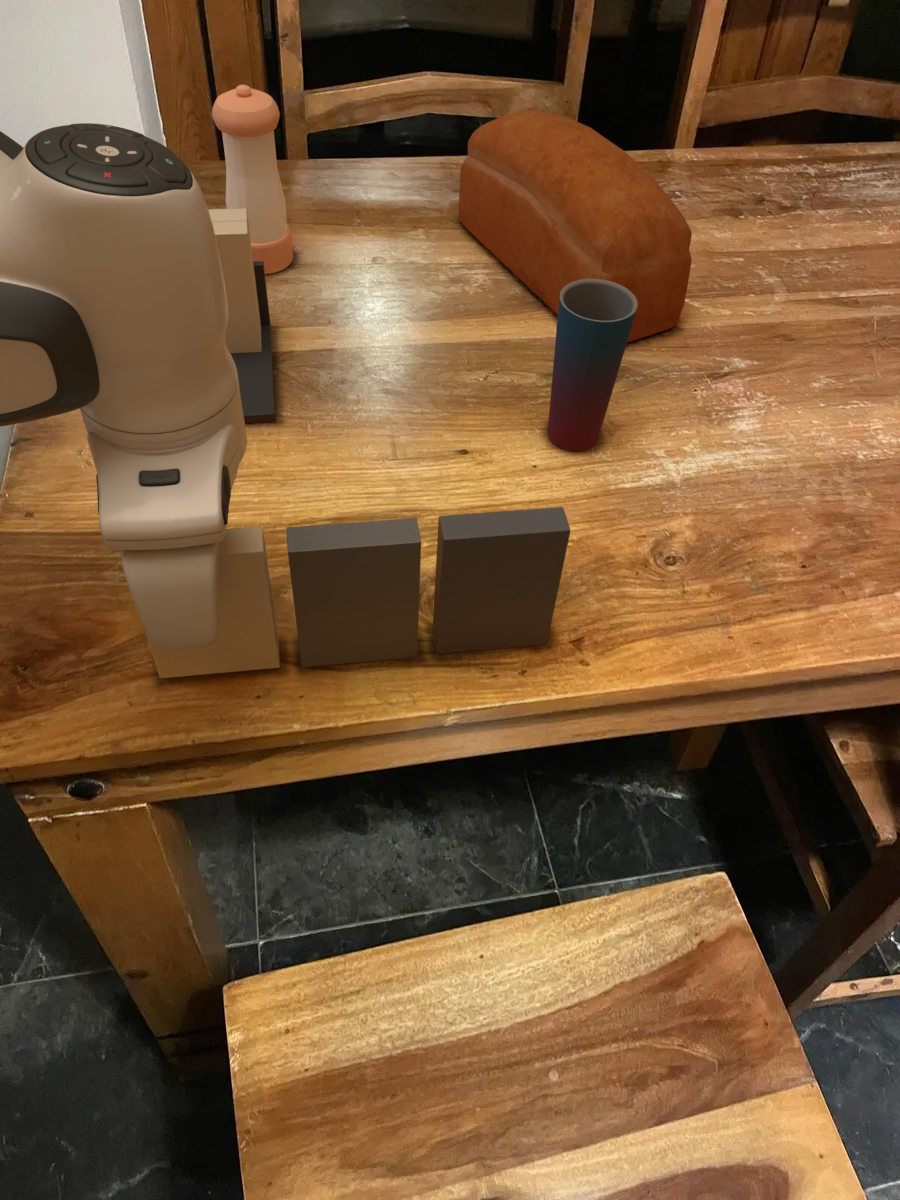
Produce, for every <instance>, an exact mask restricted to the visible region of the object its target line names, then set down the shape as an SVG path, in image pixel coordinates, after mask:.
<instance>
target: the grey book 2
mask: <svg viewBox="0 0 900 1200" xmlns="http://www.w3.org/2000/svg"><path fill="white" fill-rule="evenodd" d="M437 520H438V521H437V522H438V523H437V539H436V540H437V541H436V559H435V575H434V577H435V578H434V595H433V596H434V597H433V612H432V613H433V615H432V631H431V632H432V637H433V644H434V648H435V649H434V650H435V653H436V655H444V654H457V653H466V652H477V651H488V650H489V651H490V650H498V649H499V650H500V649H508V648H509V649H510V648H522V647H531V646H532V647H533V646H541V645H543V646H544V645H547V644H548V641H549V636H550V631H551V627H552V621H553V618H554V613H555V607H556V603H557V598H558V594H559V589H560V583H561V578H562V574H563V568H564V564H565V559H566V554H567V549H568V545H569V540H570V536H571V527H570V525H569V520H568V518H567V515H566V512H565V509H564V507H563V506H558V507H557V506H555V507H545V508H544V507H543V508H530V509H528V508H527V509H517V510H515V509H514V510H502V511H501V510H500V511H490V512H474V513H473V512H472V513H461V514H447V515H446V514H445V515H439V516H438V519H437Z"/></svg>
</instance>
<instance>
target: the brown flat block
mask: <svg viewBox="0 0 900 1200" xmlns="http://www.w3.org/2000/svg"><path fill="white" fill-rule="evenodd" d="M268 563H269V562H268V556H267V550H266V542H265V535H264V528H263V526H251V527H235V528H226V537H225V539H224V540H223V541H222V542H219V553H218V611H219V630H218V637H217V640H216V641H215V642H214V643H213V644H211V645H208V646H203V647H198V648H190V649H162V648H159V647H157V646H155V645H154V644H153V643H152V642H151V640H150V638H149V636H148V634H147V632H146V630H145V627H144V625H143V624H142V626H143V629H144V632H145V636H146V639H147V642H148V645H149V648H150V652H151V655H152V658H153V662H154V664H155V668H156V671H157V674H158V678H159V679H167V678H179V677H191V676H203V675H213V674H225V673H236V672H247V671H258V670H271V669H280V667H281V661H280V643H279V642H280V641H279V636H278V628H277V621H276V615H275V614H276V613H275V606H274V599H273V591H272V585H271V578H270V571H269V570H270V569H269V564H268Z"/></svg>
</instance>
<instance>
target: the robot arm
mask: <svg viewBox="0 0 900 1200" xmlns="http://www.w3.org/2000/svg"><path fill="white" fill-rule="evenodd" d="M208 209H209V207H208V205H207V202H206V199H205V197H204V194H203V191H202V189H201V187H200V184H199V182H198V181H197V179H196V178H195V176H194V174H193V173H192V171H191V169H190V167H189V166H188V165H187V164H186V163H185V161H184V160H182V159H181V157H180V156H179V155H177V153H175V152H174V151H173V150H171V149H170V148H169V147H167V146H165V144H162V143H160V142H158V141H157V140H154V139H152V138H150V137H148V136H145V135H144V134H143V133H140V132H138V131H135V130H132V129H129V128H124V127H120V126H116V125H109V124H103V123H91V122H90V123H89V122H86V123H84V122H83V123H82V122H81V123H80V122H79V123H71V124H66V125H65V124H64V125H59V126H54V127H53V126H52V127H49V128H47V129H44V130H41V131H39V132H37V133H36V134H34V135H33V136H31V137H30V138H29V139H28V140H27V141H26V143H25V145H24V146H22V145H21V144H20V143H18V142H17V141H16V140H14V139H13V138H11V137H10V136H8V134H6V133H4V132H2V131H1V130H0V427H1V428H2V427H7V426H12V425H17V424H23V423H28V422H32V421H38V420H42V419H47V418H51V417H57V416H59V415H63V414H67V413H70V412H73V411H77V410H78V409H79V410H80V414H81V417H82V420H83V423H84V427H85V429H86V433H87V437H86V439H87V444H88V448H89V450H90V451H89V452H90V454H91V457H92V460H93V464H94V467H95V469H96V474H95V479H96V490H97V491H96V492H97V493H96V494H97V513H98V525H99V531H100V534H101V538H102V540H103V543H104V545H105V547H106V548H107V549H108V550H110V551H120V559H121V565H122V569H123V573H124V578H125V580H126V583H127V586H128V589H129V591H130V595H131V597H132V600H133V603H134V605H135V609H136V610H137V613H138V615H139V617H140V620H141V624H142V626H143V625H144V626H143V628H144V627H145V629H144V631H145V630H146V632H147V634H148V636H149V638H150V640H151V642H152V643H153V644H154V645H155V646H157V647H159V648H162V649H190V648H198V647H203V646H208V645H211V644H213V643H214V642H215V641H216V640H217V637H218V630H219V611H218V553H219V542H222V541H223V540H224V539H225V537H226V529H227V525H228V524H229V511H230V502H231V497H232V489H233V486H234V483H235V481H236V478H237V474H238V471H239V467H240V463H241V462H242V460H243V458H244V457H245V454H246V451H247V445H248V437H247V436H248V435H247V429H246V423H245V422H244V415H243V409H242V402H241V395H240V388H239V379H238V373H237V369H236V365H235V362H234V360H233V358H232V356H231V354H230V352H229V350H228V348H227V345H226V339H225V334H226V328H227V323H228V302H227V295H226V288H225V282H224V276H223V270H222V265H221V259H220V254H219V250H218V245H217V240H216V236H215V232H214V228H213V224H212V221H211V217H210V214H209V211H208Z"/></svg>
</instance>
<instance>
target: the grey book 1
mask: <svg viewBox="0 0 900 1200" xmlns="http://www.w3.org/2000/svg"><path fill="white" fill-rule="evenodd" d="M286 544H287V545H286V547H287V558H288V566H289V574H290V583H291V590H292V598H293V599H292V600H293V607H294V616H295V623H296V631H297V641H298V647H299V648H298V649H299V656H300V664H301V668H313V667H323V666H337V665H345V664H357V663H367V662H379V661H390V660H400V659H411V658H418V640H419V613H420V611H419V610H420V589H421V587H420V585H421V584H420V583H421V559H422V556H421V555H422V539H421V535H420V528H419V524H418V519H417V517H411V518H398V519H397V518H396V519H381V520H369V521H356V522H343V523H341V522H340V523H329V524H328V523H327V524H313V525H300V526H286Z"/></svg>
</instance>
